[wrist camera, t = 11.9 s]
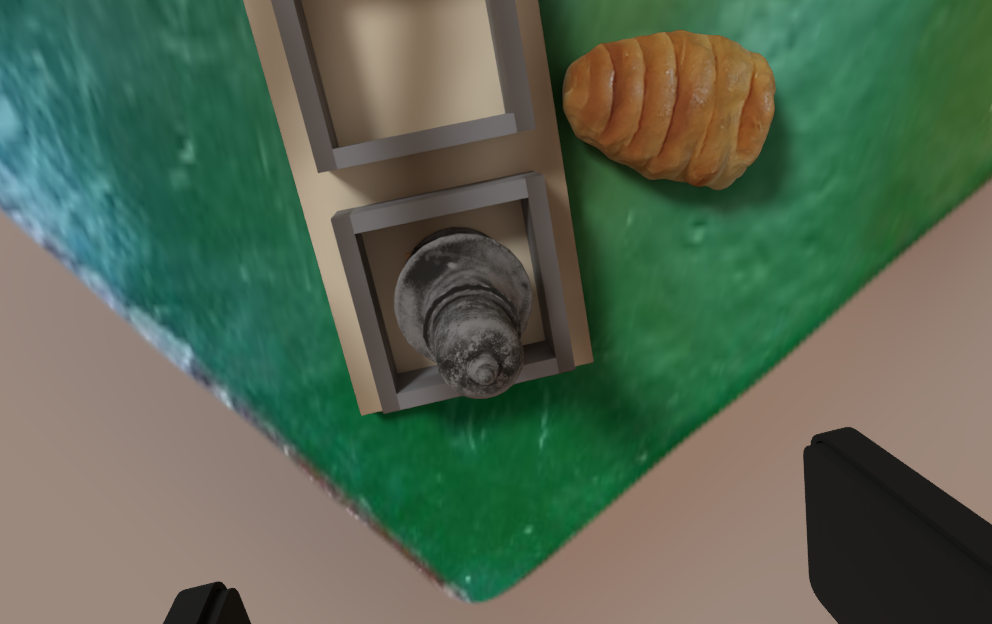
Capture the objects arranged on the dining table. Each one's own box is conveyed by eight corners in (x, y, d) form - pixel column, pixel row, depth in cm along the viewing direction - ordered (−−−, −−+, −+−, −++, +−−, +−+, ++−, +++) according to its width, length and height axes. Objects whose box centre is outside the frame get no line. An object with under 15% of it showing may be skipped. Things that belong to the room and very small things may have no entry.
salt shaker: (506, 348, 31) (560, 477, 20) (387, 331, 30) (372, 457, 19) (530, 232, 30) (604, 300, 18) (406, 210, 29) (403, 267, 17)
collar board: (513, -122, 27) (528, -159, 23) (587, 353, 33) (608, 381, 30) (228, -72, 26) (200, -102, 22) (363, 405, 33) (357, 439, 29)
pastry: (545, 162, 31) (563, 167, 27) (571, 12, 29) (594, -5, 25) (724, 190, 32) (764, 198, 29) (758, 50, 30) (805, 39, 27)
